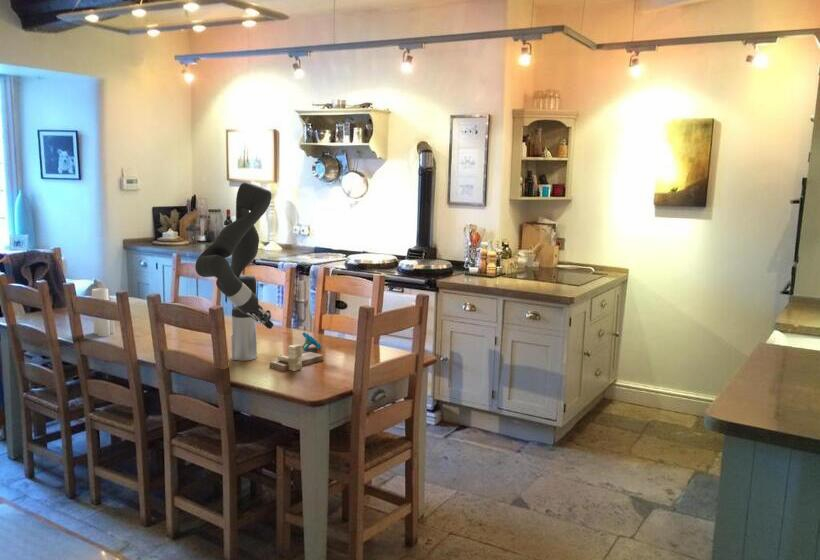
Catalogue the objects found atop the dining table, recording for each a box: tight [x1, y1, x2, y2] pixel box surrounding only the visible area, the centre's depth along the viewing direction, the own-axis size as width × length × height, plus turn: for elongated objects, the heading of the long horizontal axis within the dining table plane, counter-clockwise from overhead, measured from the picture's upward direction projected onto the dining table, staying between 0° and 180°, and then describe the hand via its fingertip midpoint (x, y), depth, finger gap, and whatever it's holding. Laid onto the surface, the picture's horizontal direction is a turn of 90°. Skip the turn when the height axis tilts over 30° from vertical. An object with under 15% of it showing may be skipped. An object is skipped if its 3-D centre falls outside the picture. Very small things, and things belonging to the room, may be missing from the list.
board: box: [269, 351, 324, 372], centre depth 255 cm, size 20×8×2 cm, turn 141°
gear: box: [301, 331, 323, 351], centre depth 276 cm, size 11×6×10 cm
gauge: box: [277, 343, 303, 372], centre depth 248 cm, size 4×10×9 cm, turn 51°
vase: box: [91, 287, 115, 338], centre depth 296 cm, size 11×7×20 cm, turn 46°
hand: (270, 326), depth 235 cm, fingers closed
